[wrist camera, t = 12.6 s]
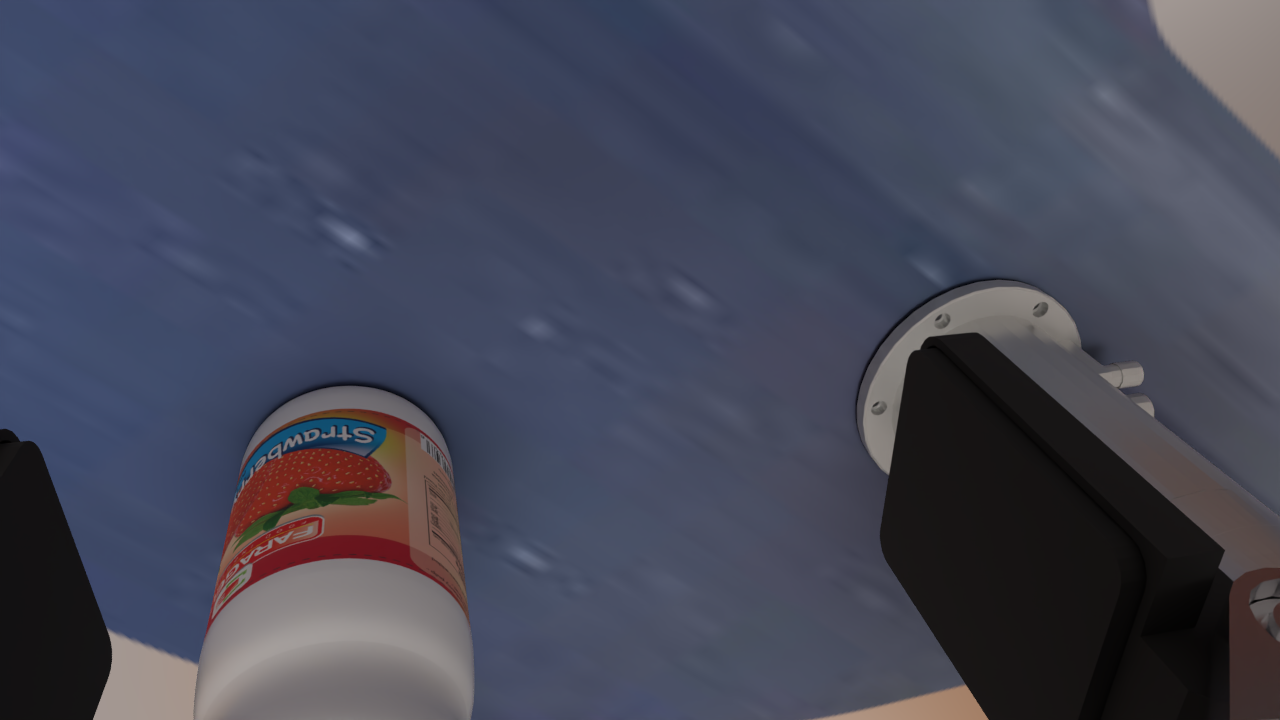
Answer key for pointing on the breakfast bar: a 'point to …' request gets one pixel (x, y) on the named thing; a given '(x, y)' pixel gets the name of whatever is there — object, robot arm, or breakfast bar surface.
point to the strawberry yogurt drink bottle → (341, 571)
